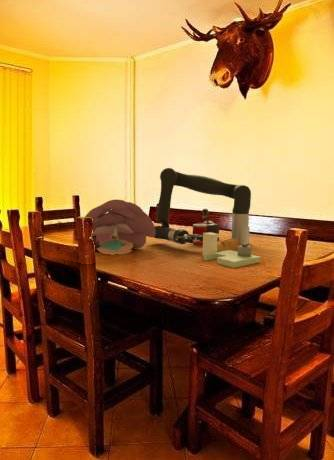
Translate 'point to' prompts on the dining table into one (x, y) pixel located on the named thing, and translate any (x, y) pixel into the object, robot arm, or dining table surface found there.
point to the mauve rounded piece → (120, 227)
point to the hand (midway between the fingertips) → (199, 240)
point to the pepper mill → (210, 223)
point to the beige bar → (209, 243)
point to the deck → (234, 257)
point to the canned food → (199, 231)
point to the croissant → (228, 245)
